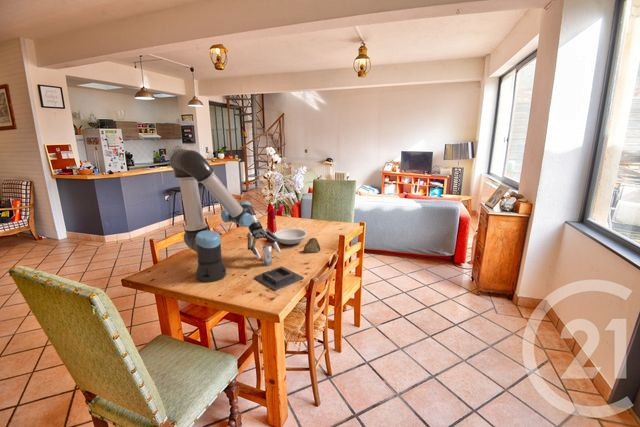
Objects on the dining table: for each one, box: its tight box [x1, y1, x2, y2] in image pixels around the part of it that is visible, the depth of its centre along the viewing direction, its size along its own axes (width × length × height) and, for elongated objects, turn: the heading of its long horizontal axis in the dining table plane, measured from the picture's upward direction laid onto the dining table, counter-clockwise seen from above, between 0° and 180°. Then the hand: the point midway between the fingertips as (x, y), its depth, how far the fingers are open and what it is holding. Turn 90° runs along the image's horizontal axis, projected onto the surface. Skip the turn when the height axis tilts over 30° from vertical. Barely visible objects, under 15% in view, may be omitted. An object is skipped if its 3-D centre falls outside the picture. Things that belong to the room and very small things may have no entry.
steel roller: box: [262, 244, 273, 267], centre depth 172 cm, size 5×5×11 cm
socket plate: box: [254, 266, 305, 292], centre depth 155 cm, size 18×18×3 cm
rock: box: [302, 237, 321, 253], centre depth 193 cm, size 11×9×10 cm
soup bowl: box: [272, 228, 308, 245], centre depth 208 cm, size 24×24×7 cm
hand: (269, 255), depth 172 cm, fingers open, 13 cm apart
